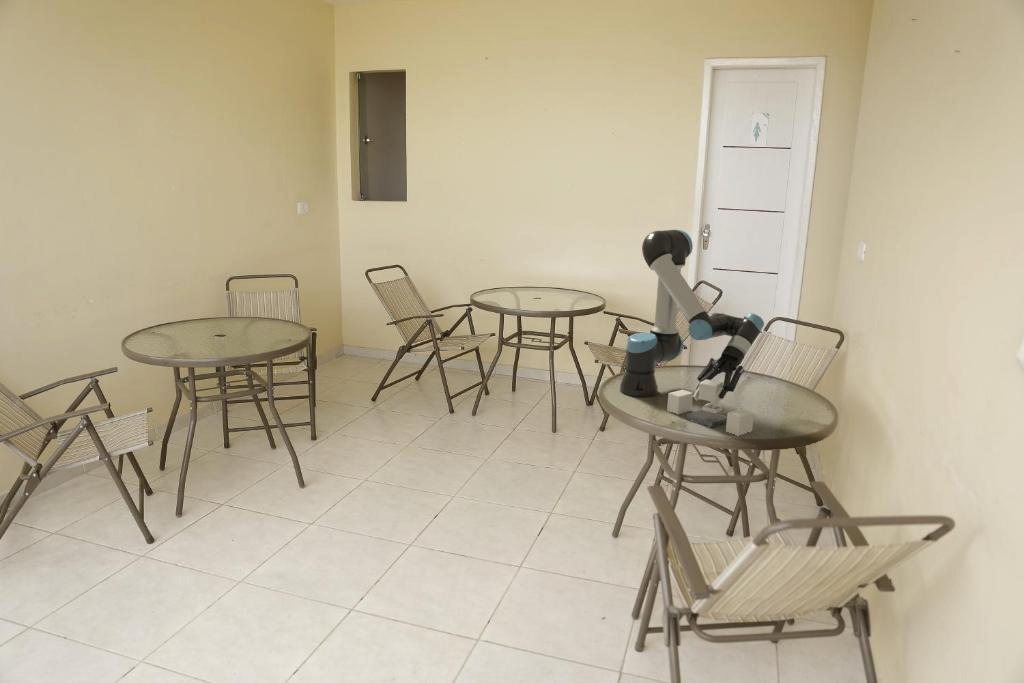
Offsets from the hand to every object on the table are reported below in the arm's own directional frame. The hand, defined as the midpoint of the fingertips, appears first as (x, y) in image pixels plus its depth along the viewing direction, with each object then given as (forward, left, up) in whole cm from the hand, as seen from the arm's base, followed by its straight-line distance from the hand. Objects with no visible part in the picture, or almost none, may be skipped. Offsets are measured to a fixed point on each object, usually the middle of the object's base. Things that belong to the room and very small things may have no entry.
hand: (704, 401), depth 244 cm
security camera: (0, +3, -4) cm, 5 cm away
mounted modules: (0, +3, -8) cm, 9 cm away
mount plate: (0, +3, -8) cm, 9 cm away
